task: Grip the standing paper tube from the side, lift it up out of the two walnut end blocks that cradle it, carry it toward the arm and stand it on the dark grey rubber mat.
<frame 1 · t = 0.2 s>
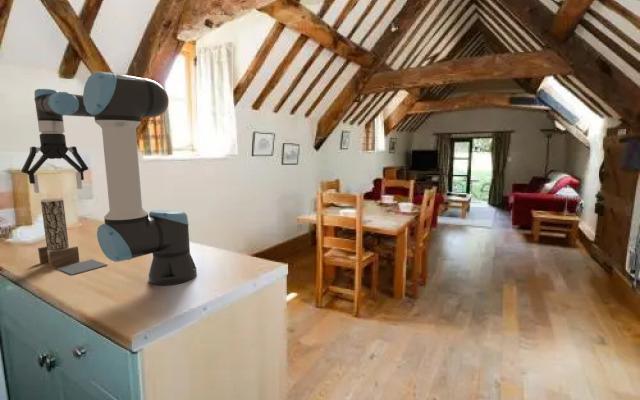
hand: (59, 190, 132), 28 cm above the counter, tool pointing down, fingers open, 13 cm apart
paper tube: (59, 262, 137), on the counter
mat: (82, 267, 131), on the counter
cradle: (59, 262, 137), on the counter
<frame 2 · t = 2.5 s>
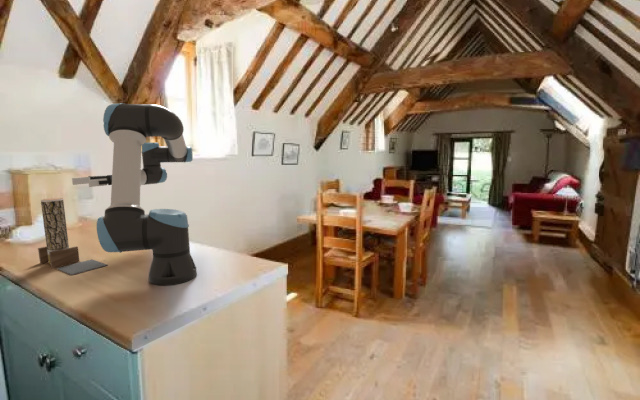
hand: (80, 182, 140), 30 cm above the counter, tool horizontal, fingers open, 13 cm apart
nothing on the counter moved.
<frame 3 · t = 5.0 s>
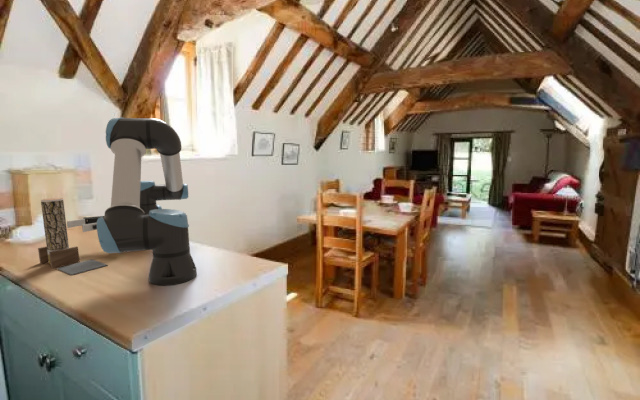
hand: (74, 226, 141), 13 cm above the counter, tool horizontal, fingers open, 13 cm apart
nothing on the counter moved.
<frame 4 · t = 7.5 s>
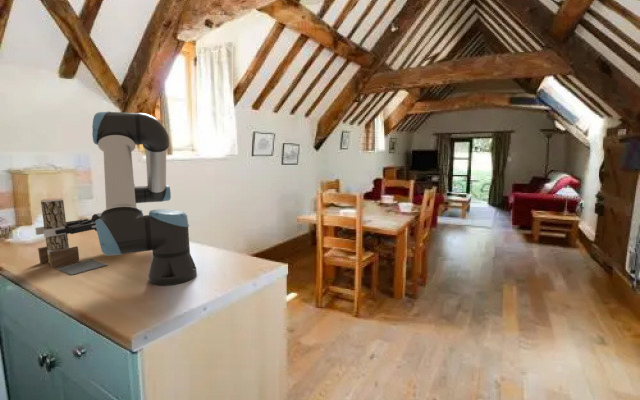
hand: (40, 232, 131), 13 cm above the counter, tool horizontal, fingers closed on paper tube, 7 cm apart
paper tube: (59, 262, 137), on the counter, touching gripper
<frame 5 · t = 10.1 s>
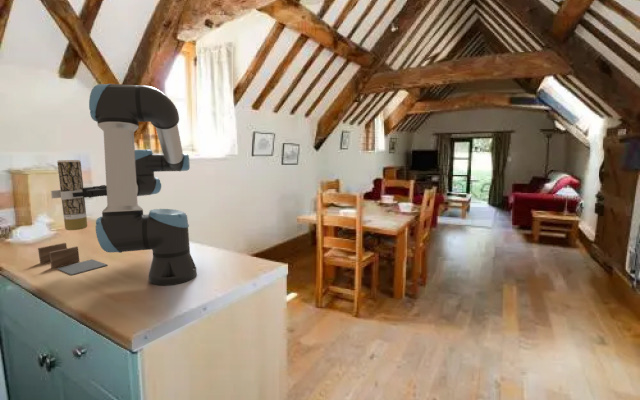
hand: (56, 195, 123), 28 cm above the counter, tool horizontal, fingers closed on paper tube, 7 cm apart
paper tube: (76, 229, 129), point 15 cm above the counter, touching gripper
when the fingers open (15 cm above the counter, at t = 13.1 s): paper tube drops 2 cm, resting on mat.
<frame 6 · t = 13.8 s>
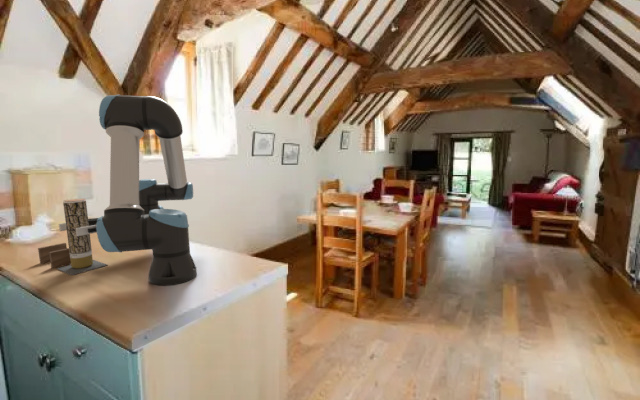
hand: (67, 229, 126), 15 cm above the counter, tool horizontal, fingers open, 13 cm apart
paper tube: (82, 266, 131), resting on mat
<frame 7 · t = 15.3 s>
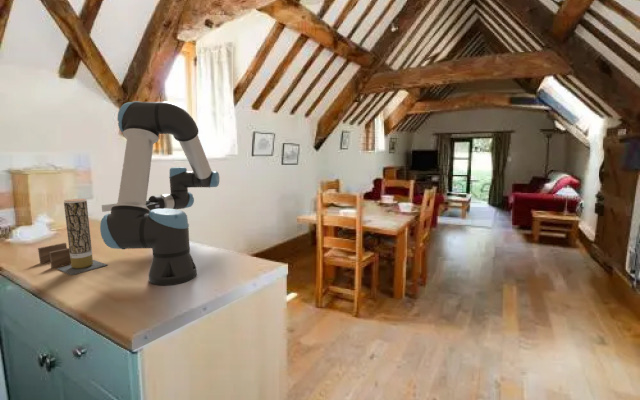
hand: (110, 209, 138), 20 cm above the counter, tool horizontal, fingers open, 13 cm apart
nothing on the counter moved.
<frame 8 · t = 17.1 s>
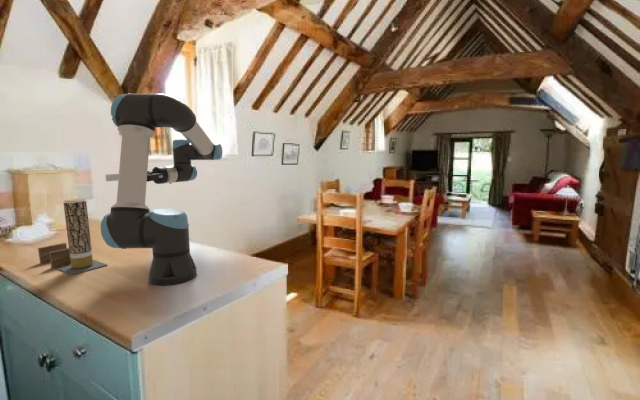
hand: (114, 178, 138), 32 cm above the counter, tool horizontal, fingers open, 13 cm apart
nothing on the counter moved.
at the end: paper tube inside the target area (0.1 cm from its centre), resting on mat; paper tube tilted 0°; the gripper is holding nothing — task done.
